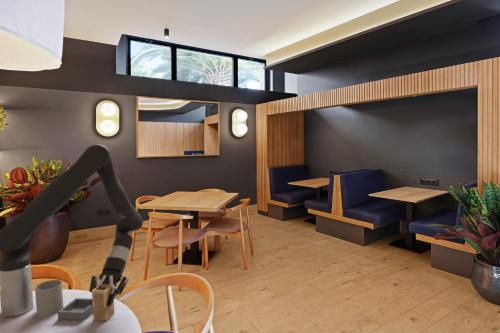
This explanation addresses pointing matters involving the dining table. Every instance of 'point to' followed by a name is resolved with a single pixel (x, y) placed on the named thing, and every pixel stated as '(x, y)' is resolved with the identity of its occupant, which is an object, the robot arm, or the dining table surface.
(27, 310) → the robot arm
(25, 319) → the dining table surface
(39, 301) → the cup
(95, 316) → the oak crate
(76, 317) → the tray
